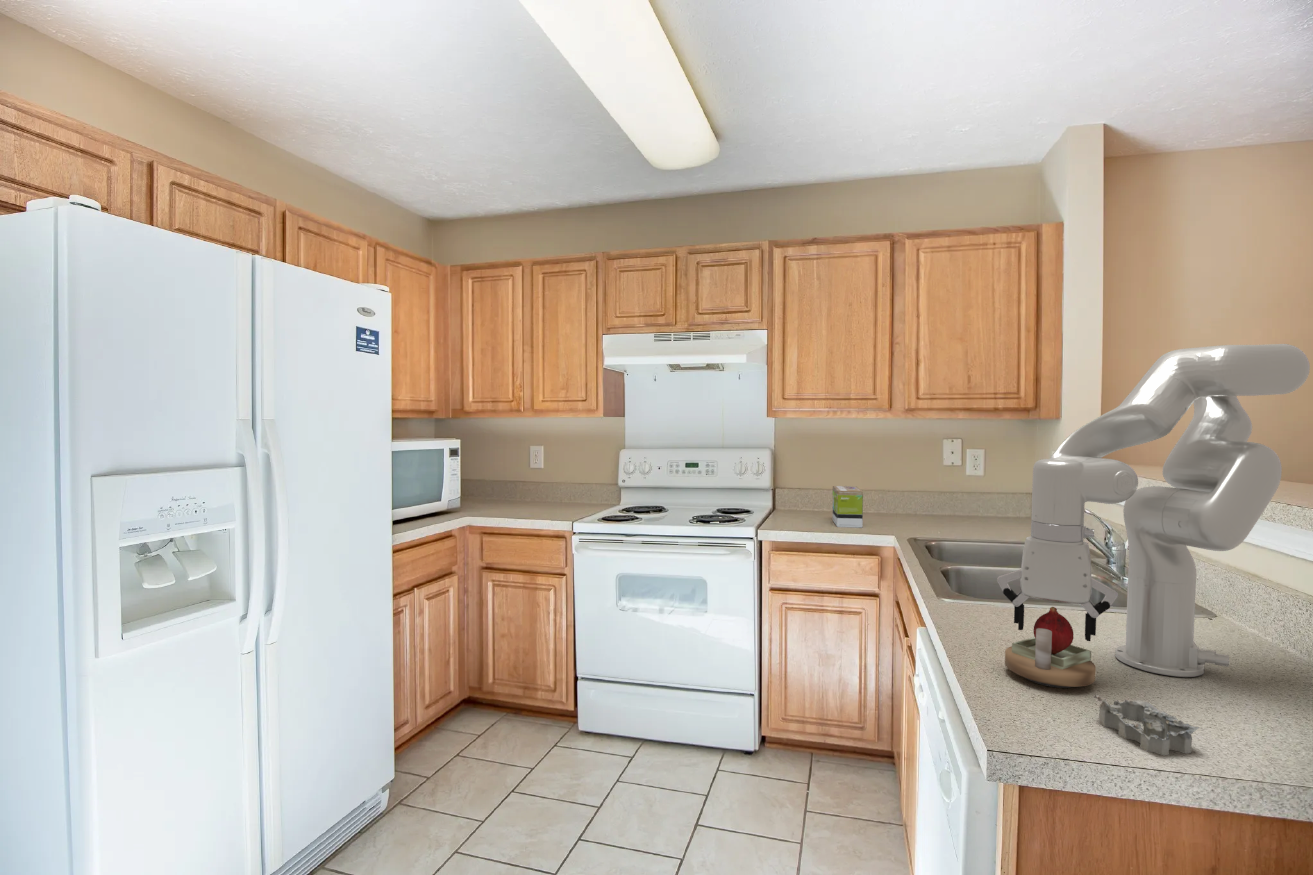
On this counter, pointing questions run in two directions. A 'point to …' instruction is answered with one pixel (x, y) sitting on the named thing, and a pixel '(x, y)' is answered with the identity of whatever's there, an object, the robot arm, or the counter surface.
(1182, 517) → the robot arm
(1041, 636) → the disc
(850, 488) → the tea box
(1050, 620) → the onion
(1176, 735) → the egg carton
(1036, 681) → the turntable base
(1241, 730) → the counter surface
